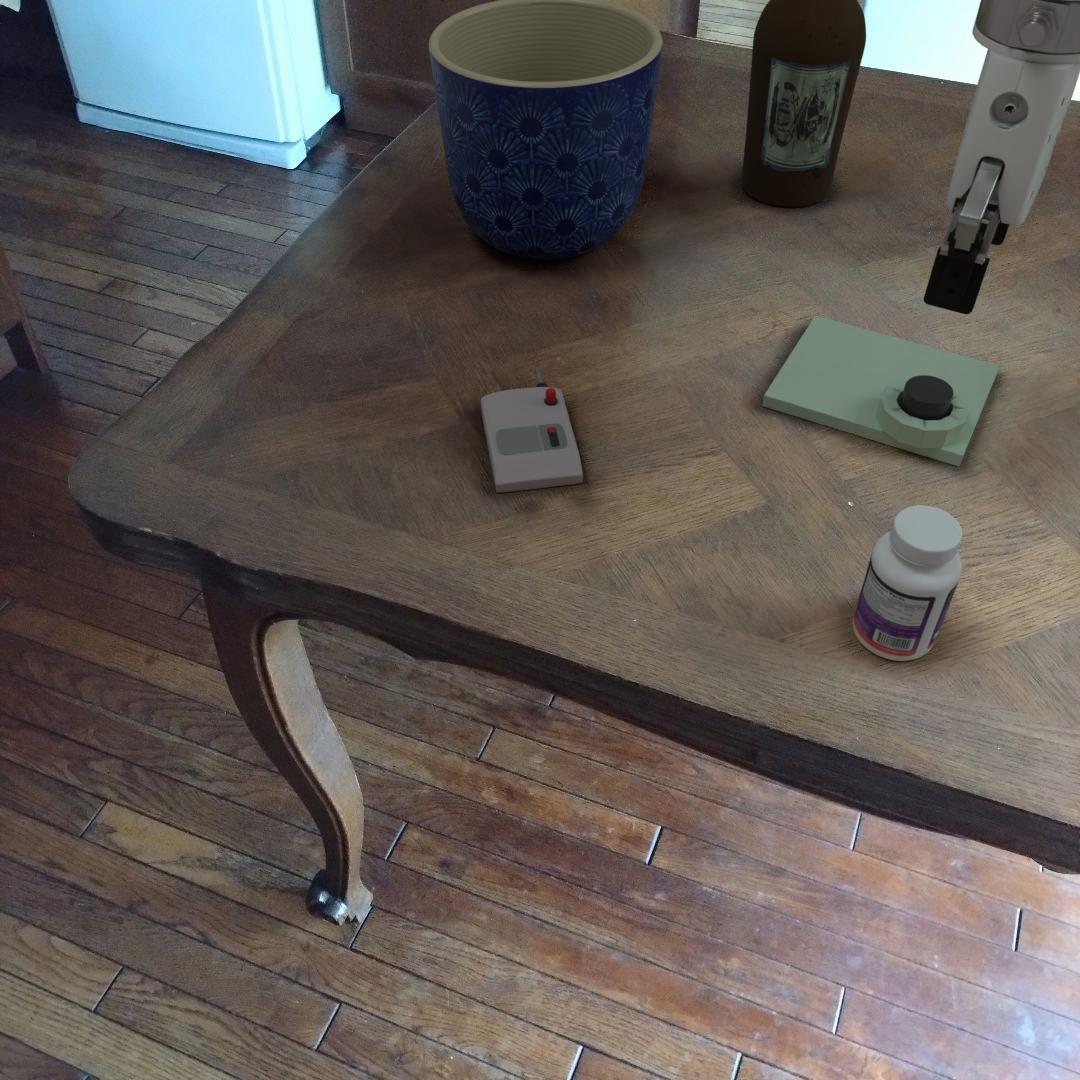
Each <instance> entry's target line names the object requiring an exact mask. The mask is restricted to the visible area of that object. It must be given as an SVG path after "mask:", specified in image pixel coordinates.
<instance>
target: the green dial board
mask: <svg viewBox="0 0 1080 1080" xmlns="http://www.w3.org/2000/svg"><path fill="white" fill-rule="evenodd" d="M999 369H1000V365H999V364H995V363H992V362H988V361H985V360H981V359H977V358H974V357H970V356H966V355H964V354H963V355H962V354H959V353H955V352H952V351H948V350H944V349H940V348H937V347H933V346H929V345H926V344H922V343H918V342H915V341H910V340H907V339H904V338H900V337H896V336H893V335H888V334H885V333H881V332H878V331H874V330H870V329H867V328H863V327H860V326H856V325H852V324H848V323H845V322H841V321H838V320H834V319H830V318H826V317H822V316H819V315H814V317H813V318H812V320H811V322H810V323H809V324H808V326H807V327H806V329H805V330H804V332H803V333H802V335H801V336H800V338H799V340H798V342H797V343H796V345H795V346H794V348H793V349H792V351H791V353H790V354H789V355H788V357H787V358H786V360H785V362H784V363H783V365H782V367H781V368H780V370H779V371H778V372H777V374H776V376H775V377H774V379H773V381H772V382H771V383H770V385H769V386H768V388H767V390H766V391H765V393H764V395H763V399H762V404H761V406H762V407H764V408H767V409H771V410H774V411H777V412H780V413H783V414H787V415H789V416H793V417H796V418H799V419H803V420H806V421H810V422H813V423H815V424H818V425H819V424H820V425H822V426H825V427H828V428H832V429H835V430H837V431H842V432H845V433H848V434H851V435H854V436H858V437H861V438H864V439H868V440H871V441H874V442H877V443H881V444H883V445H887V446H891V447H894V448H896V449H900V450H903V451H907V452H910V453H913V454H917V455H919V456H923V457H926V458H929V459H933V460H935V461H939V462H941V463H946V464H949V465H952V466H955V467H960V466H961V464H962V461H963V458H964V457H965V454H966V451H967V449H968V447H969V444H970V442H971V439H972V436H973V434H974V431H975V429H976V427H977V423H978V422H979V420H980V417H981V415H982V411H983V409H984V407H985V405H986V402H987V399H988V397H989V395H990V392H991V391H992V387H993V385H994V382H995V380H996V377H997V374H998V372H999ZM920 375H928V376H934V377H937V378H940V379H942V380H944V381H946V382H947V383H948V384H949V385H950V386H951V387H952V389H953V393H954V394H953V398H952V401H951V404H950V407H949V410H948V413H947V415H946V416H945V417H944V418H942V419H940V420H928V421H925V420H922V419H918V418H915V417H911V416H909V415H908V414H907V413H905V412H904V411H903V410H902V409H901V406H900V401H901V398H902V394H903V391H904V387H905V384H906V382H907V381H908V380H909V379H910V378H912V377H915V376H920Z"/></svg>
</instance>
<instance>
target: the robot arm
mask: <svg viewBox="0 0 1080 1080" xmlns="http://www.w3.org/2000/svg"><path fill="white" fill-rule="evenodd" d="M971 33H972V36H973V38H974V39H975V41H976V42H977V43H978V44H979V45H981V46H982V47H984V48H986V49H987V50H986V55H985V56H984V57H985V58H984V61H983V64H982V66H981V67H982V68H981V71H980V74H979V78H978V81H977V84H976V87H975V91H974V94H973V97H972V101H971V104H970V108H969V112H968V115H967V119H966V122H965V126H964V129H963V133H962V137H961V141H960V145H959V148H958V151H957V156H956V160H955V163H954V168H953V171H952V176H951V180H950V184H949V188H948V192H947V197H946V201H945V206H946V208H947V210H948V211H949V212H950V213H951V214H952V216H951V219H950V221H949V224H948V227H947V230H946V233H945V235H944V239H943V241H942V243H941V245H940V246H939V247H938V248H937V251H936V254H935V258H934V261H933V265H932V268H931V272H930V275H929V279H928V282H927V285H926V289H925V292H924V295H923V302H924V304H926V305H928V306H932V307H936V308H939V309H943V310H947V311H950V312H955V313H959V314H961V315H962V314H963V315H970V314H971V313H972V312H973V310H974V308H975V305H976V304H977V303H976V302H977V299H978V297H979V292H980V290H981V287H982V285H983V282H984V280H985V276H986V273H987V269H988V267H989V263H990V260H991V258H990V257H987V256H988V253H989V250H990V247H991V245H994V246H1001V245H1002V244H1003V243H1004V241H1005V240H1006V236H1007V233H1008V230H1009V228H1013V229H1014V228H1018V227H1019V226H1021V225H1023V224H1024V223H1025V222H1026V220H1027V217H1028V216H1029V213H1030V212H1031V209H1032V207H1033V205H1034V202H1035V199H1036V198H1037V195H1038V193H1039V190H1040V188H1041V186H1042V183H1043V180H1044V179H1045V176H1046V173H1047V169H1048V168H1049V167H1048V166H1049V164H1050V161H1051V158H1052V155H1053V152H1054V149H1055V147H1056V144H1057V141H1058V139H1059V135H1060V133H1061V130H1062V127H1063V124H1064V122H1065V118H1066V116H1067V113H1068V111H1069V107H1070V105H1071V101H1072V98H1073V95H1074V92H1075V89H1076V86H1077V83H1078V80H1079V77H1080V0H980V2H979V5H978V9H977V13H976V17H975V19H974V23H973V27H972V31H971Z"/></svg>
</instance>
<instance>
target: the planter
mask: <svg viewBox="0 0 1080 1080" xmlns="http://www.w3.org/2000/svg"><path fill="white" fill-rule="evenodd" d="M663 45H664V41H663V36H662V33H661V31H660V30H659V28H658V27H657V26H656V25H655V24H654V22H652V21H651V20H650V19H649V18H647V17H646V16H645V15H642V14H640V13H639V12H637V11H635V10H632V9H630V8H628V7H625V6H622V5H619V4H614V3H612V2H611V3H610V2H607V1H602V0H495V1H489V2H486V3H482V4H477V5H475V6H472V7H469V8H466V9H464V10H461V11H459V12H457V13H455V14H453V15H450V16H449V17H448V18H446V19H445V20H444V21H442V22H441V23H439V25H437V26H436V27H435V29H434V30H433V31H432V33H431V35H430V37H429V41H428V50H429V58H430V64H431V71H432V77H433V84H434V91H435V98H436V104H437V112H438V117H439V124H440V131H441V138H442V143H443V152H444V158H445V164H446V171H447V176H448V181H449V184H450V188H451V193H452V195H453V198H454V201H455V203H456V206H457V207H458V210H459V212H460V214H461V216H462V218H463V220H464V221H465V223H466V224H467V225H468V226H469V228H470V229H471V230H472V231H473V232H474V233H475V234H476V235H477V236H478V237H479V238H480V239H481V240H483V241H484V242H485V243H487V244H488V245H489V246H491V247H493V248H494V249H496V250H498V251H501V252H503V253H506V254H508V255H512V256H514V257H517V258H522V259H527V260H536V261H556V260H564V259H571V258H574V257H578V256H581V255H584V254H587V253H589V252H592V251H594V250H596V249H598V248H601V247H602V246H603V245H605V244H606V243H607V242H609V241H610V240H611V239H612V238H614V237H615V236H616V235H617V234H618V233H619V232H620V231H621V230H622V229H623V227H624V226H625V225H626V224H627V223H628V221H629V219H630V218H631V216H632V214H633V212H634V210H635V208H636V207H637V204H638V201H639V198H640V195H641V192H642V189H643V185H644V182H645V177H646V176H645V175H646V170H647V164H648V163H647V162H648V155H649V149H650V142H651V135H652V134H651V133H652V127H653V119H654V111H655V105H656V98H657V90H658V82H659V74H660V66H661V61H662V60H661V59H662V52H663Z"/></svg>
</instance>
